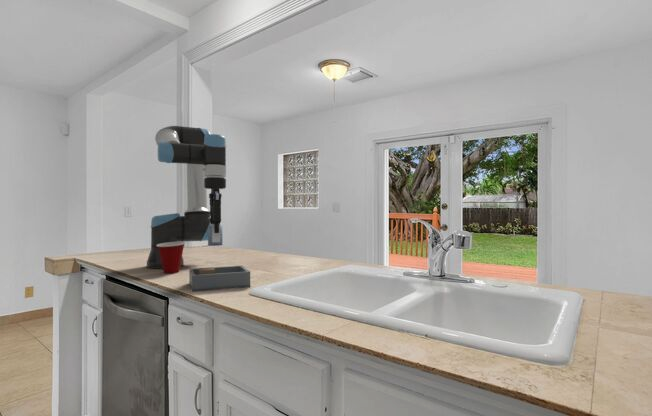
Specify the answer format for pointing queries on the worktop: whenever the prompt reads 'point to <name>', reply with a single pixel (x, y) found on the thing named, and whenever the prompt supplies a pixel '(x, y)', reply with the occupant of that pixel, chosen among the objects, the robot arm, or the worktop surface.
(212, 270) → the walnut cube
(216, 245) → the slate cylinder
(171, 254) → the plastic cup
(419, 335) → the worktop surface
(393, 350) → the worktop surface
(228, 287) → the tote
